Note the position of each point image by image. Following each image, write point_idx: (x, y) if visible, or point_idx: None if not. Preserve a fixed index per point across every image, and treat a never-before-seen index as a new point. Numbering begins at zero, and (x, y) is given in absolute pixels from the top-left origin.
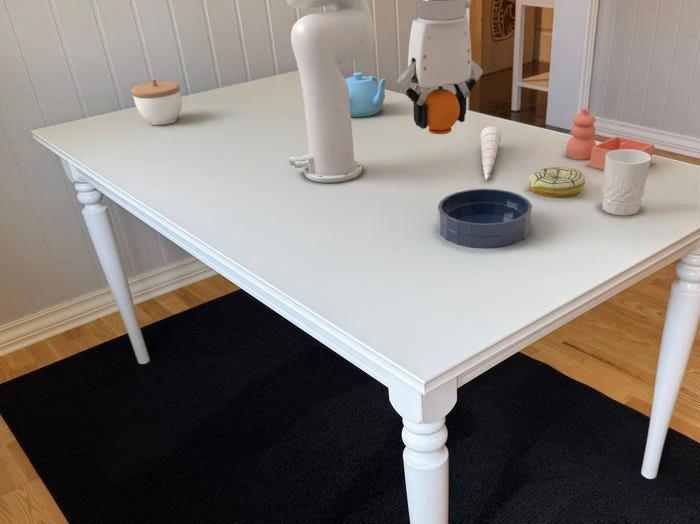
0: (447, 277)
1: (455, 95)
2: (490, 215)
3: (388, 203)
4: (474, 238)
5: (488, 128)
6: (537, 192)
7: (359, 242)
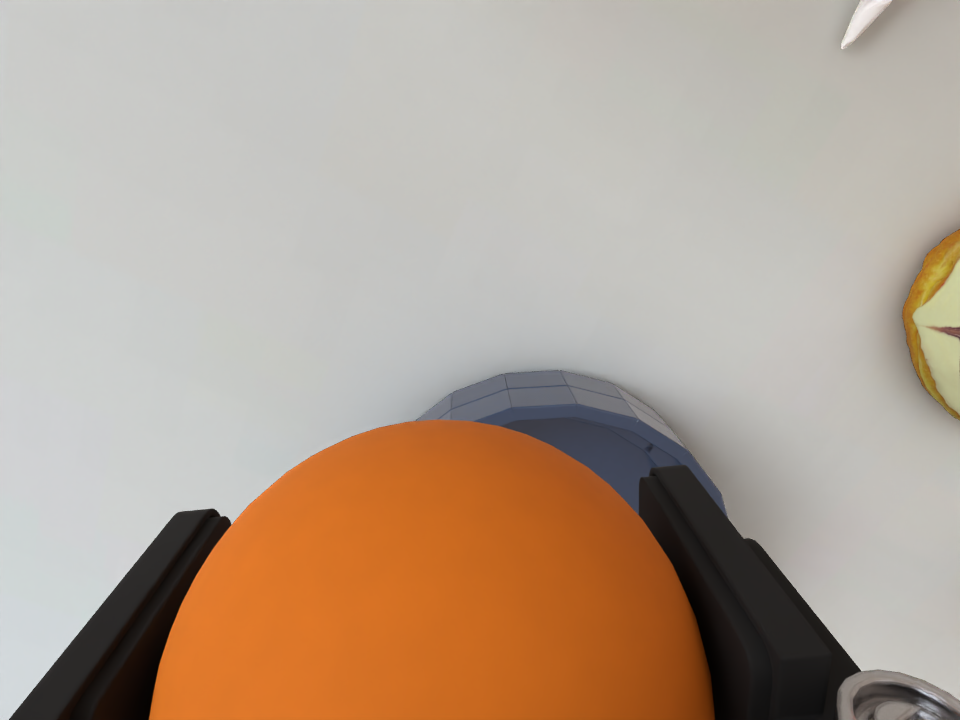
0: None
1: (778, 706)
2: (612, 441)
3: (280, 88)
4: None
5: None
6: (907, 335)
7: (79, 423)
